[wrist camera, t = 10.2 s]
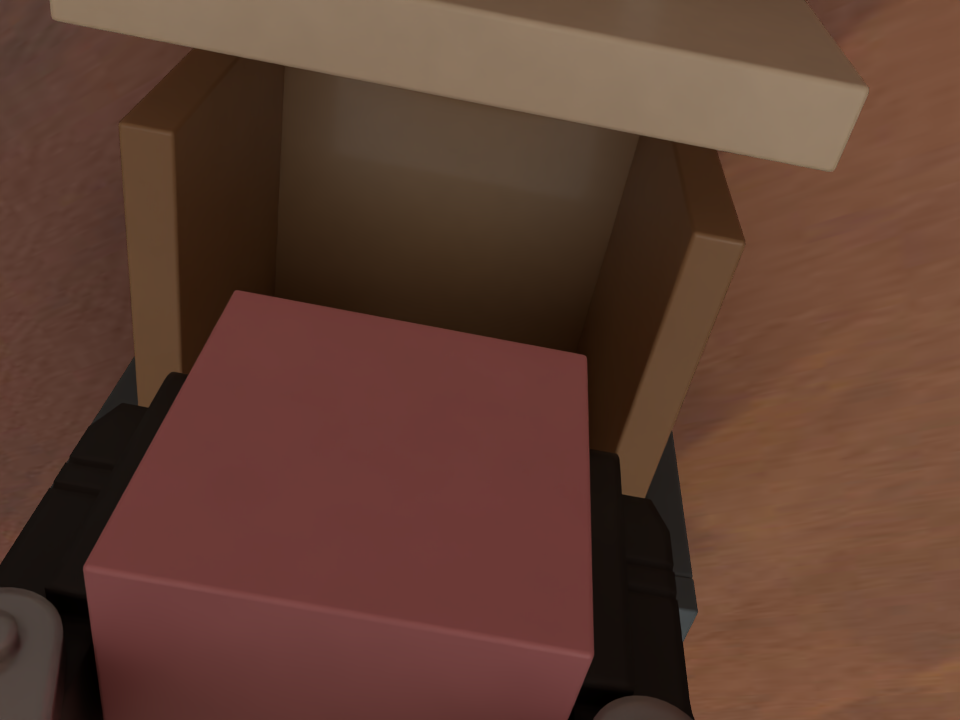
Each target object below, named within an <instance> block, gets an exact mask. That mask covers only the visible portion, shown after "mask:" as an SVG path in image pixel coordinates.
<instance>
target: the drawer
mask: <svg viewBox="0 0 960 720" xmlns="http://www.w3.org/2000/svg"><path fill="white" fill-rule="evenodd" d="M50 9H51V16H52V18H53V19H54V20H56V21H59V22H64V23H69V24H74V25H79V26H84V27H89V28H95V29H100V30H105V31H110V32H115V33H120V34H125V35H130V36H136V37H141V38H146V39H151V40H156V41H161V42H166V43H171V44H177V45H182V46H187V47H192V48H193V49H192V50H191V51H190V52H189V53H188V54H187V55H186V56H185V57H184V58H183V59H182V60H181V61H180V62H179V63H178V64H177V65H176V66H175V67H174V68H173V69H172V70H171V71H170V72H169V73H168V74H167V75H166V76H165V77H164V78H163V79H162V80H161V81H160V82H159V83H158V84H157V85H156V86H155V87H154V88H153V89H152V90H151V91H150V92H149V93H148V94H147V95H146V96H145V97H144V98H143V99H142V100H141V101H140V102H139V103H138V104H137V105H136V106H135V107H134V108H133V109H132V110H131V111H130V112H129V113H128V114H127V115H126V116H125V117H124V118H123V119H122V120H121V121H120V122H119V138H120V152H121V167H122V181H123V195H124V210H125V224H126V238H127V252H128V267H129V281H130V295H131V310H132V324H133V338H134V353H135V367H136V381H137V396H138V406H143V407H149V406H150V404H151V402H152V400H153V399H154V397H155V395H156V393H157V392H158V390H159V388H160V387H161V385H162V383H163V381H164V380H165V378H166V377H167V375H168V374H169V373H171V372H178V373H184V374H189V373H190V371H191V369H192V367H193V366H194V364H195V362H196V360H197V358H198V356H199V355H200V353H201V351H202V349H203V347H204V346H205V344H206V342H207V340H208V338H209V336H210V335H211V333H212V331H213V329H214V327H215V325H216V324H217V322H218V320H219V318H220V316H221V315H222V313H223V311H224V309H225V307H226V305H227V304H228V302H229V300H230V298H231V296H232V295H233V293H234V291H236V290H240V291H246V292H251V293H256V294H262V295H267V296H272V297H278V298H283V299H288V300H294V301H299V302H304V303H310V304H315V305H320V306H326V307H331V308H336V309H342V310H347V311H352V312H358V313H363V314H368V315H374V316H379V317H384V318H390V319H395V320H400V321H406V322H411V323H417V324H422V325H427V326H433V327H438V328H443V329H449V330H454V331H459V332H465V333H470V334H475V335H481V336H486V337H491V338H497V339H502V340H507V341H513V342H518V343H523V344H529V345H534V346H539V347H545V348H550V349H555V350H561V351H566V352H571V353H577V354H582V355H585V356H586V357H587V373H588V415H589V449H595V450H600V451H605V452H611V453H616V454H618V456H619V459H620V470H621V485H622V494H624V495H629V496H635V497H640V498H645V496H646V494H647V491H648V489H649V486H650V484H651V481H652V479H653V476H654V474H655V471H656V469H657V466H658V464H659V461H660V459H661V456H662V454H663V451H664V449H665V446H666V443H667V441H668V438H669V436H670V433H671V431H672V428H673V426H674V423H675V421H676V418H677V416H678V413H679V411H680V408H681V406H682V403H683V401H684V398H685V396H686V393H687V391H688V388H689V386H690V383H691V380H692V378H693V375H694V373H695V370H696V368H697V365H698V363H699V360H700V358H701V355H702V353H703V350H704V348H705V345H706V343H707V340H708V338H709V335H710V333H711V330H712V328H713V325H714V323H715V320H716V317H717V315H718V312H719V310H720V307H721V305H722V302H723V300H724V297H725V295H726V292H727V290H728V287H729V285H730V282H731V280H732V277H733V275H734V272H735V270H736V267H737V265H738V262H739V260H740V257H741V254H742V252H743V249H744V247H745V239H744V236H743V233H742V229H741V226H740V223H739V220H738V217H737V213H736V210H735V207H734V204H733V201H732V198H731V194H730V191H729V188H728V185H727V182H726V178H725V175H724V172H723V169H722V166H721V163H720V159H719V156H718V153H717V150H720V151H725V152H730V153H735V154H740V155H745V156H750V157H756V158H761V159H766V160H771V161H776V162H781V163H786V164H791V165H797V166H802V167H807V168H812V169H817V170H822V171H827V172H832V171H834V170H835V168H836V166H837V164H838V162H839V159H840V157H841V155H842V153H843V150H844V148H845V146H846V143H847V141H848V139H849V137H850V134H851V132H852V130H853V128H854V125H855V123H856V121H857V118H858V116H859V114H860V112H861V109H862V107H863V105H864V102H865V100H866V98H867V96H868V93H869V87H868V86H867V85H866V83H865V82H864V80H863V79H862V78H861V76H860V75H859V74H858V72H857V71H856V69H855V68H854V67H853V65H852V64H851V63H850V61H849V60H848V59H847V57H846V56H845V54H844V53H843V52H842V50H841V49H840V48H839V46H838V45H837V44H836V42H835V41H834V39H833V38H832V37H831V35H830V34H829V33H828V31H827V30H826V29H825V27H824V26H823V24H822V23H821V22H820V20H819V19H818V18H817V16H816V15H815V13H814V12H813V11H812V9H811V8H810V7H809V5H808V4H807V3H806V1H805V0H50Z"/></svg>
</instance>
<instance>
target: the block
mask: <svg viewBox="0 0 960 720" xmlns="http://www.w3.org/2000/svg"><path fill="white" fill-rule="evenodd" d="M83 572H84V580H85V587H86V595H87V602H88V609H89V617H90V624H91V632H92V639H93V646H94V654H95V661H96V669H97V676H98V683H99V691H100V698H101V706H102V713H103V720H568V718H569V716H570V713H571V711H572V708H573V706H574V704H575V701H576V699H577V696H578V694H579V691H580V689H581V687H582V684H583V682H584V679H585V677H586V674H587V672H588V669H589V667H590V665H591V662H592V660H593V657H594V627H593V584H592V542H591V500H590V458H589V415H588V373H587V357H586V356H585V355H582V354H577V353H571V352H566V351H561V350H555V349H550V348H545V347H539V346H534V345H529V344H523V343H518V342H513V341H507V340H502V339H497V338H491V337H486V336H481V335H475V334H470V333H465V332H459V331H454V330H449V329H443V328H438V327H433V326H427V325H422V324H417V323H411V322H406V321H400V320H395V319H390V318H384V317H379V316H374V315H368V314H363V313H358V312H352V311H347V310H342V309H336V308H331V307H326V306H320V305H315V304H310V303H304V302H299V301H294V300H288V299H283V298H278V297H272V296H267V295H262V294H256V293H251V292H246V291H240V290H236V291H234V293H233V295H232V296H231V298H230V300H229V302H228V304H227V305H226V307H225V309H224V311H223V313H222V315H221V316H220V318H219V320H218V322H217V324H216V325H215V327H214V329H213V331H212V333H211V335H210V336H209V338H208V340H207V342H206V344H205V346H204V347H203V349H202V351H201V353H200V355H199V356H198V358H197V360H196V362H195V364H194V366H193V367H192V369H191V371H190V373H189V375H188V377H187V378H186V380H185V382H184V384H183V386H182V387H181V389H180V391H179V393H178V395H177V397H176V398H175V400H174V402H173V404H172V406H171V408H170V409H169V411H168V413H167V415H166V417H165V418H164V420H163V422H162V424H161V426H160V428H159V429H158V431H157V433H156V435H155V437H154V438H153V440H152V442H151V444H150V446H149V448H148V449H147V451H146V453H145V455H144V457H143V459H142V460H141V462H140V464H139V466H138V468H137V469H136V471H135V473H134V475H133V477H132V479H131V480H130V482H129V484H128V486H127V488H126V490H125V491H124V493H123V495H122V497H121V499H120V500H119V502H118V504H117V506H116V508H115V510H114V511H113V513H112V515H111V517H110V519H109V520H108V522H107V524H106V526H105V528H104V530H103V531H102V533H101V535H100V537H99V539H98V541H97V542H96V544H95V546H94V548H93V550H92V551H91V553H90V555H89V557H88V559H87V561H86V562H85V564H84V566H83Z"/></svg>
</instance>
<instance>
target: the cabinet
mask: <svg viewBox="0 0 960 720" xmlns="http://www.w3.org/2000/svg"><path fill="white" fill-rule="evenodd" d="M121 403H126V404H132V405H137V406H138V396H137V381H136V367H135V356H134V358H133V359H132V361H131V363H130V364H129V366H128V367H127V369H126V370H125V372H124V373H123V375H122V377H121V378H120V380H119V381H118V383H117V384H116V386H115V388H114V389H113V391H112V392H111V394H110V395H109V397H108V399H107V400H106V402H105V403H104V405H103V406H102V408H101V410H100V411H99V413H98V414H97V416H96V417H95V419H94V421H93V422H92V424H93V423H94V422H96V421H97V420H98V419H100V418H101V417H103V416H104V415H105V414H107V413H108V412H110V411H111V410H113V409H114V408H115V407H117V406H118V405H120V404H121ZM68 462H69V460H68V461H67V463H68ZM53 484H54V483H53ZM52 487H53V485H52V486H51V488H52ZM645 498H646V499H651V500H652V502H653V504H654V505H655V507H656V509H657V511H658V512H659V514H660V516H661V517H662V519H663V521H664V523H665V524H666V526H667V528H668V529H669V531H670V537H671V546H672V554H673V563H674V566H673V572H675V580H676V589H677V595H676V600H678V606H679V614H680V623H681V631H682V640H683V641H684V639H685V637H686V635H687V633H688V631H689V629H690V627H691V625H692V623H693V621H694V619H695V617H696V615H697V613H698V610H697V603H696V595H695V588H694V581H693V579H692V570H691V562H690V555H689V548H688V541H687V534H686V526H685V519H684V512H683V505H682V498H681V490H680V483H679V476H678V469H677V462H676V454H675V447H674V440H673V433H672V431H671V433H670V436H669V438H668V441H667V443H666V446H665V449H664V451H663V454H662V456H661V459H660V461H659V464H658V466H657V469H656V471H655V474H654V476H653V479H652V481H651V484H650V486H649V489H648V491H647V494H646V496H645Z"/></svg>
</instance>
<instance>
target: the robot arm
mask: <svg viewBox="0 0 960 720" xmlns="http://www.w3.org/2000/svg"><path fill="white" fill-rule="evenodd" d="M188 375H189V374H184V373H178V372H171V373H169V374H168V375H167V377H166V378H165V380H164V381H163V383H162V385H161V387H160V388H159V390H158V392H157V393H156V395H155V397H154V399H153V400H152V402H151V404H150V406H149V407H143V406H137V405H132V404H126V403H121V404H120V405H118V406H117V407H115V408H114V409H113V410H111V411H110V412H108V413H107V414H105V415H104V416H103V417H101V418H100V419H98V420H97V421H96V422H94V423H93V424H91V425H90V426H89V427H88V428H87V430H86V432H85V433H84V435H83V436H82V438H81V439H80V441H79V443H78V444H77V446H76V447H75V449H74V450H73V452H72V453H71V455H70V458H69V462H68V463H65V464H64V466H63V468H62V469H61V471H60V472H59V474H58V475H57V477H56V478H55V480H54V484H53V487H52V488H49V489H48V491H47V492H46V494H45V496H44V497H43V499H42V500H41V502H40V503H39V505H38V507H37V508H36V510H35V511H34V513H33V514H32V516H31V517H30V519H29V521H28V522H27V524H26V525H25V527H24V528H23V530H22V532H21V533H20V535H19V536H18V538H17V539H16V541H15V542H14V544H13V546H12V547H11V549H10V550H9V552H8V553H7V555H6V557H5V558H4V560H3V561H2V563H1V564H0V720H103V713H102V706H101V698H100V691H99V683H98V676H97V669H96V661H95V654H94V646H93V639H92V632H91V624H90V617H89V609H88V602H87V595H86V587H85V580H84V572H83V566H84V564H85V562H86V561H87V559H88V557H89V555H90V553H91V551H92V550H93V548H94V546H95V544H96V542H97V541H98V539H99V537H100V535H101V533H102V531H103V530H104V528H105V526H106V524H107V522H108V520H109V519H110V517H111V515H112V513H113V511H114V510H115V508H116V506H117V504H118V502H119V500H120V499H121V497H122V495H123V493H124V491H125V490H126V488H127V486H128V484H129V482H130V480H131V479H132V477H133V475H134V473H135V471H136V469H137V468H138V466H139V464H140V462H141V460H142V459H143V457H144V455H145V453H146V451H147V449H148V448H149V446H150V444H151V442H152V440H153V438H154V437H155V435H156V433H157V431H158V429H159V428H160V426H161V424H162V422H163V420H164V418H165V417H166V415H167V413H168V411H169V409H170V408H171V406H172V404H173V402H174V400H175V398H176V397H177V395H178V393H179V391H180V389H181V387H182V386H183V384H184V382H185V380H186V378H187V377H188ZM589 458H590V500H591V542H592V584H593V627H594V657H593V660H592V662H591V665H590V667H589V669H588V672H587V674H586V677H585V679H584V682H583V684H582V687H581V689H580V691H579V694H578V696H577V699H576V701H575V704H574V706H573V708H572V711H571V713H570V716H569V718H568V720H694V717H693V714H692V710H691V705H690V700H689V691H688V683H687V674H686V666H685V657H684V648H683V640H682V631H681V623H680V614H679V606H678V600H676V595H677V589H676V580H675V572H673V566H674V563H673V554H672V546H671V537H670V531H669V529H668V528H667V526H666V524H665V523H664V521H663V519H662V517H661V516H660V514H659V512H658V511H657V509H656V507H655V505H654V504H653V502H652V500H651V499H646V498H640V497H635V496H629V495H624V494H622V485H621V470H620V459H619V456H618V454H616V453H611V452H605V451H600V450H595V449H589Z"/></svg>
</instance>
